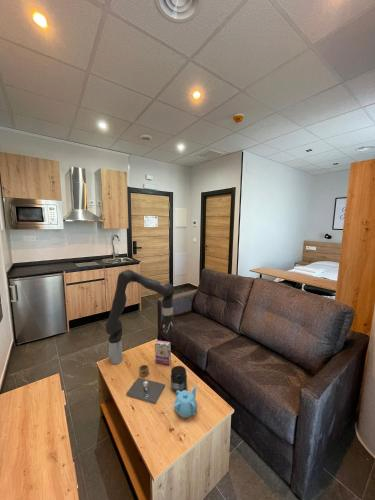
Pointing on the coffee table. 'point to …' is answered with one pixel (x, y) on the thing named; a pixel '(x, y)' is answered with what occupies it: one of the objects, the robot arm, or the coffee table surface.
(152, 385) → the grey metal plate
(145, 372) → the collar
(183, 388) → the supplement container
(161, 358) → the candy bar box
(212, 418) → the coffee table surface
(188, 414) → the teapot
